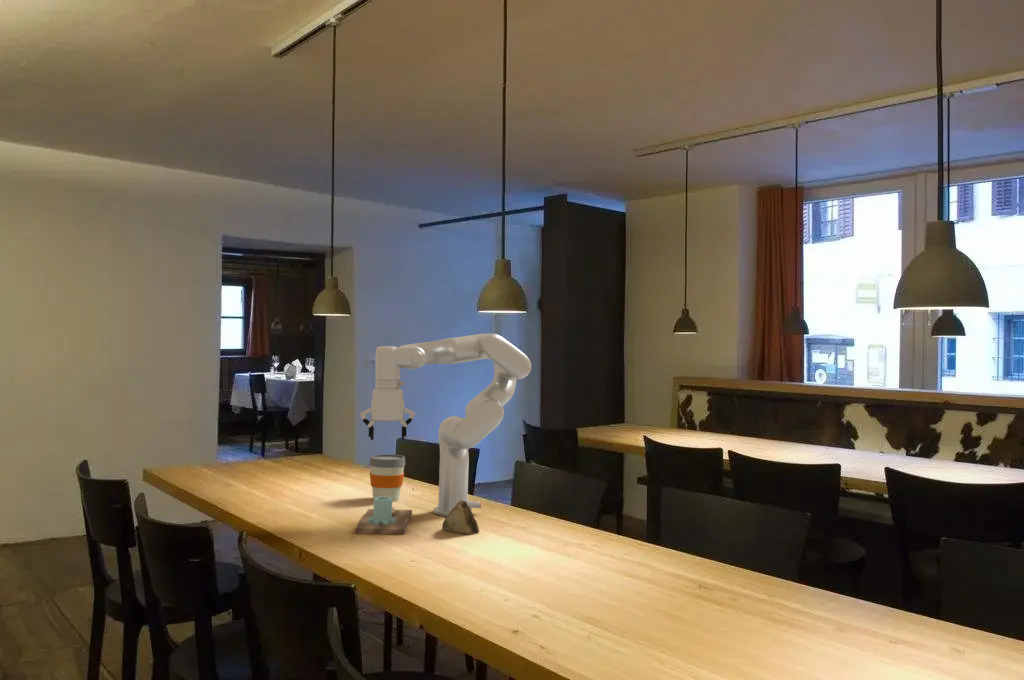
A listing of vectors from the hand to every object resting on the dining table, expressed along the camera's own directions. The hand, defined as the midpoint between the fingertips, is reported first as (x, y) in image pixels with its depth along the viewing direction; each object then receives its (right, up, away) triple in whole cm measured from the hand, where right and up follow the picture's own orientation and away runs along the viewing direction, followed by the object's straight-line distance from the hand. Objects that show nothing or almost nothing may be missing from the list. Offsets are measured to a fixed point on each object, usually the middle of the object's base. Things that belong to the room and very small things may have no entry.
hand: (387, 439), depth 234 cm
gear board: (+1, -25, -8) cm, 26 cm away
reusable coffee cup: (-5, -25, +27) cm, 37 cm away
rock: (+24, -26, -14) cm, 38 cm away
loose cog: (0, -23, -12) cm, 26 cm away
